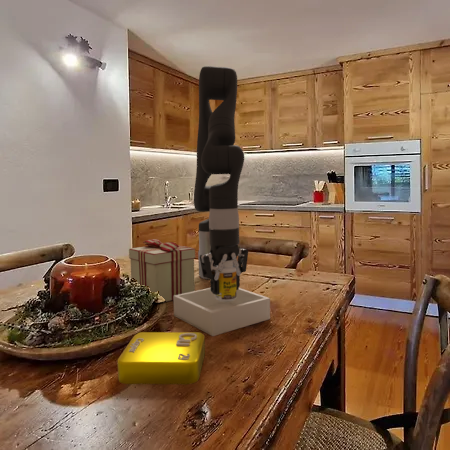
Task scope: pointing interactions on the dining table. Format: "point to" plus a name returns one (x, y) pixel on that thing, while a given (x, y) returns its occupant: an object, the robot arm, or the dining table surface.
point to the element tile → (162, 358)
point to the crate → (221, 310)
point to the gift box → (163, 267)
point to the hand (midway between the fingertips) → (225, 291)
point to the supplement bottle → (227, 283)
